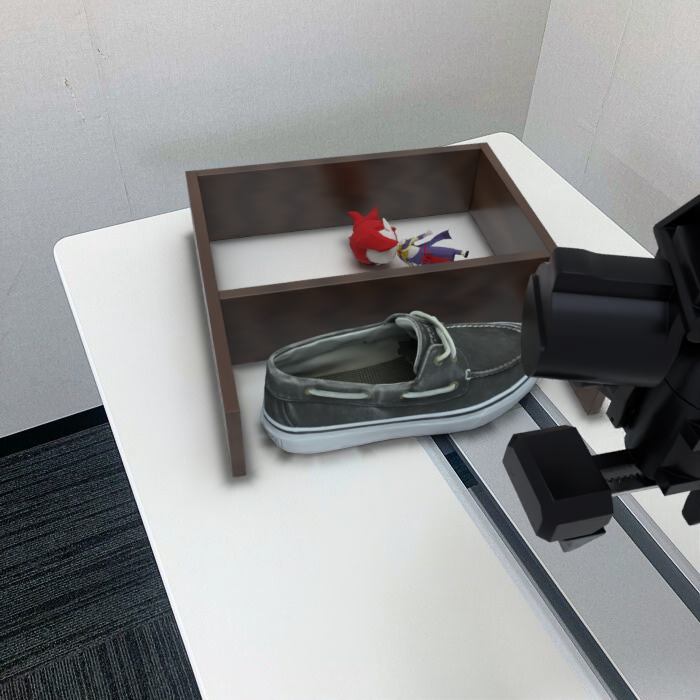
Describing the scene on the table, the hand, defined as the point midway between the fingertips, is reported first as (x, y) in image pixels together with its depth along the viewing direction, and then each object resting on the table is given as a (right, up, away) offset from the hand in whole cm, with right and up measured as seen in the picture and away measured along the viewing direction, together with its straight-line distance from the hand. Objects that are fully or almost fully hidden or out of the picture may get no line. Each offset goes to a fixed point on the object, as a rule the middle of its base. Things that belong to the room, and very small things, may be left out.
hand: (626, 532), depth 50 cm
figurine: (-13, +22, +37) cm, 45 cm away
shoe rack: (-16, +16, +31) cm, 38 cm away
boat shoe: (-13, +7, +22) cm, 27 cm away
